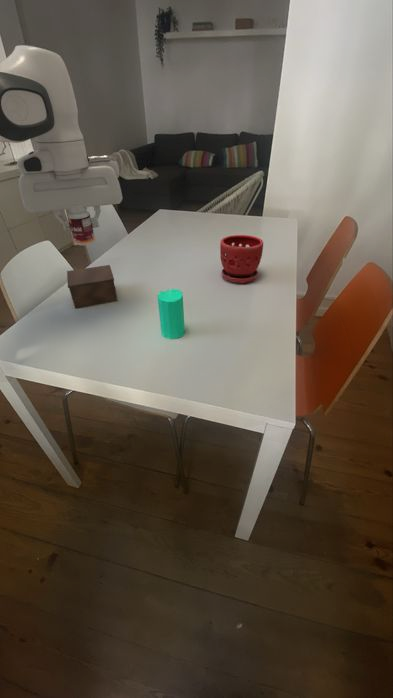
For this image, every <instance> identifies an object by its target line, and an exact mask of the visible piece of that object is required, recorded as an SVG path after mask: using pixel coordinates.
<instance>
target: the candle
mask: <svg viewBox="0 0 393 698" xmlns="http://www.w3.org/2000/svg"><path fill="white" fill-rule="evenodd" d="M157 305H158V314H159V323H160V334H161V336H162V337H163V338H165V339H168V340H174V339H175V340H176V339H179V338H181V337H183V336H184V334H185V333H186V331H185V329H186V328H185V312H184V309H185V308H184V294H183V291H181V290H180V289H178V288H177V289H176V288H169V289H167V290H162V291H160V292H159V293H158V294H157Z"/></svg>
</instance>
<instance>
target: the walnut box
mask: <svg viewBox="0 0 393 698" xmlns="http://www.w3.org/2000/svg"><path fill="white" fill-rule="evenodd" d="M66 278H67V280H66V281H67V288H68V289H69V292H70V296H71V299H72V303H73V306H74V309H80V308H86V307H92V306H97V305H103V304H108V303H115V302H118V296H117V291H116V285H115V278H114V274H113V271H112V268H111V265H110V264H106V265H100V266H92V267H86V268H85V267H84V268H79V269H73V270H72V269H71V270H67V271H66Z"/></svg>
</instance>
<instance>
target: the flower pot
mask: <svg viewBox="0 0 393 698" xmlns="http://www.w3.org/2000/svg"><path fill="white" fill-rule="evenodd" d="M219 244H220V247H219V248H220V263H221V266H222V270H221V276H222V277H223V278H224V279H225V280H227V281H228V282H231V283H237V284H238V283H239V284H243V283H248V282H252V281H253V280H255V279H256V278H257V277H258V273H259V271H258V268H259V266H260V263H261V260H262V257H263V250H264V241H263V240H262V239H261V238H260V237H257V236H253V235H249V234H248V235H247V234H236V235H235V234H234V235H228V236H225V237H223V238H221V239H220V243H219Z"/></svg>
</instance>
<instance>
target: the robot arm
mask: <svg viewBox="0 0 393 698" xmlns="http://www.w3.org/2000/svg"><path fill="white" fill-rule="evenodd" d="M31 139H35V143H36V147H37V149H36V150H32V151H29V152H28V153H27V154H25V155H23V156H21V157H19V158H18V160H17V161H16V166H17V169H18V171H19V172H20V173H21V174H20V176H19V179H18V187H19V188H18V189H19V193H20V198H21V201H22V206H23V208H24V209H25V210H26V211H27V212H28V213H30V214H34V213H35V214H36V213H44V212H53V215H54V217H55V219H57V221H58V222H59V223H61V225H62V228H63V231H64V232H68V231H71V228H70V224H69V220H65V219H64V217H63V216H62V211H63V210H67V209H71V207H72V206H82V207H87V208H92V207H93V212H95V213H94V216H93V217H90V218H91V223H92V228H93V229H94V228H100V225H99V221H98V220H99V217H100V215H101V212H102V210H101V206H102V207H103V206H110V205H119V204H121V203H122V201H123V192H122V188H121V184H120V181H119V179H118V178H120V165H119V163H118V161H117V159H116V158H114V157H112V156H111V155H110V154H103V155H88V154H87V148H86V144H85V139H84V134H83V133H82V131H81V128H80V125H79V109H78V105H77V100H76V96H75V92H74V88H73V84H72V80H71V77H70V74H69V71H68V68H67V65H66V63H65V61H64V59H63V58H62V57H61V55H59V54H58V53H57V52H56V51H55V50H52V49H51V48H48V47H45V46H42V45H38V44H30V43H21V44H17V45H16V46H15V47H14V49H13V51H12V52H11V53H10V54H9V55H8V56H7V57H6V58H5V59H3V61H1V62H0V142H1V143H11V144H12V143H13V144H19V143H24V142H26V141H29V140H31Z"/></svg>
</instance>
